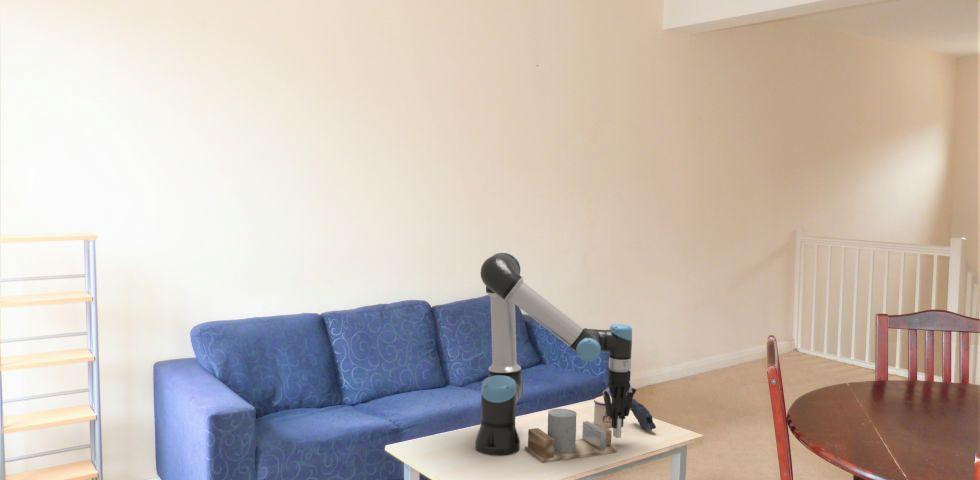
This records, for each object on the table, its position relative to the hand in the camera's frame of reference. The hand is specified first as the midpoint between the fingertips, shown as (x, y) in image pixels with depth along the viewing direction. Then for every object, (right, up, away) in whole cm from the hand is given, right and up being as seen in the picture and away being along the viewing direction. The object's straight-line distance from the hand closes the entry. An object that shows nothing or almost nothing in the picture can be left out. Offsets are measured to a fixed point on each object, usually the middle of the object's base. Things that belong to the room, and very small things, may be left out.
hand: (616, 436), depth 268 cm
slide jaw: (-7, -2, -3) cm, 7 cm away
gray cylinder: (-20, -2, -8) cm, 22 cm away
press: (-17, -3, -7) cm, 18 cm away
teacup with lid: (+1, -1, +23) cm, 23 cm away
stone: (+12, -2, +17) cm, 21 cm away
